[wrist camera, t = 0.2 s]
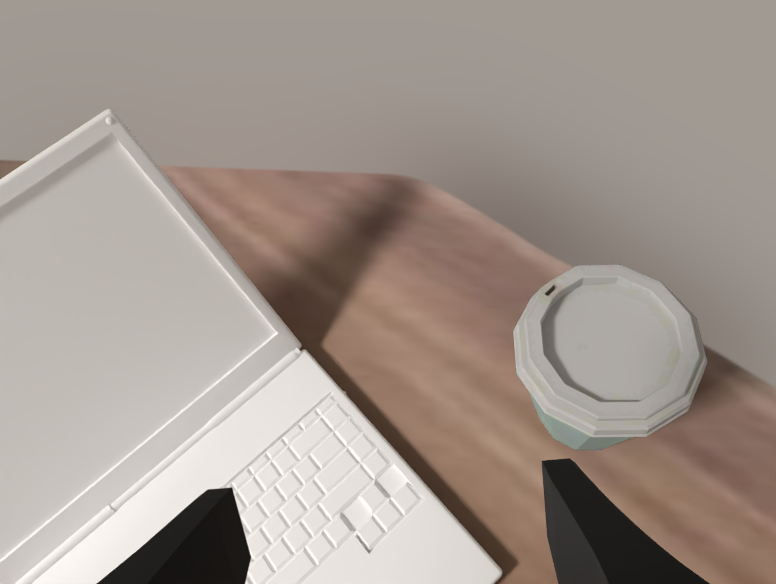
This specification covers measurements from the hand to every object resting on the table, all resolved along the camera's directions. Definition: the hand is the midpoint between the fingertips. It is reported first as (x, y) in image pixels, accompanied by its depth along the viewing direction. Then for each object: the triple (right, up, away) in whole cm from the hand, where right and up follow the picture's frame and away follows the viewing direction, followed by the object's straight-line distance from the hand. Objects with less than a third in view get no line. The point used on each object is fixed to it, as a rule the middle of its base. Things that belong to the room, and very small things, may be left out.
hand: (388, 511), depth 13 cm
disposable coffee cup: (+15, -5, +31) cm, 35 cm away
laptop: (-14, -14, +32) cm, 38 cm away
